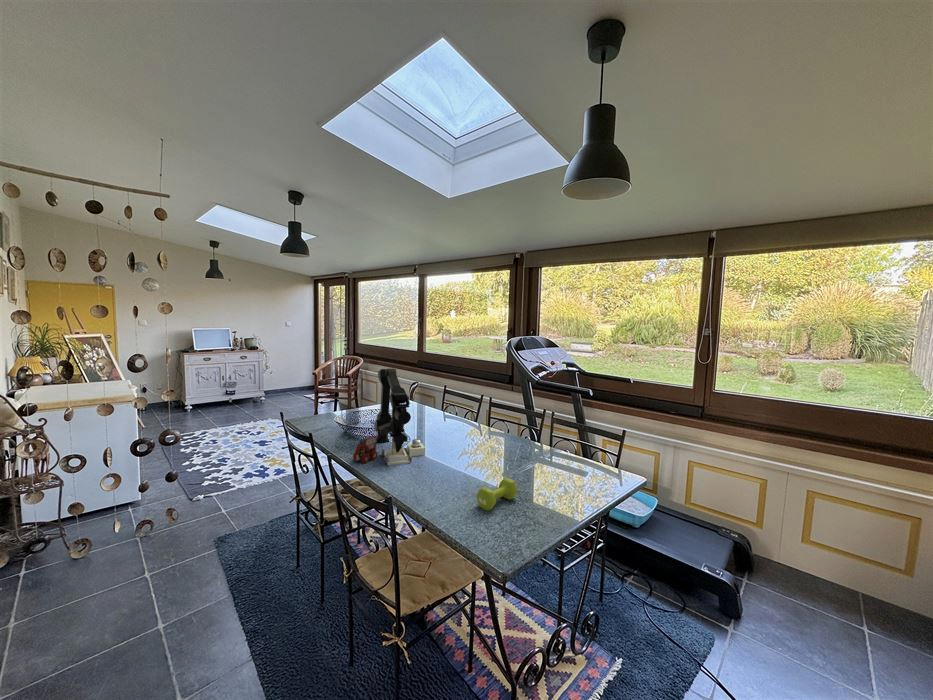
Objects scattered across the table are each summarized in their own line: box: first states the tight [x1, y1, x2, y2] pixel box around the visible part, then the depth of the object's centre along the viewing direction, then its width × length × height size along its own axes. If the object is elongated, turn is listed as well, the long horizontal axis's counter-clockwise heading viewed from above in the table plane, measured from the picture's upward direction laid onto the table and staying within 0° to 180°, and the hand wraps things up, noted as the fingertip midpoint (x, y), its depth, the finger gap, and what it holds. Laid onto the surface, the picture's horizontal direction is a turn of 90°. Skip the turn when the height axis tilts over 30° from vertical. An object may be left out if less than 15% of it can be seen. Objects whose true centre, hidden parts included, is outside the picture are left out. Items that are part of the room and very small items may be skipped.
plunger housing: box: [406, 442, 426, 457], centre depth 176 cm, size 7×7×4 cm
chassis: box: [381, 447, 413, 466], centre depth 168 cm, size 14×12×3 cm
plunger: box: [411, 438, 421, 448], centre depth 176 cm, size 4×4×4 cm
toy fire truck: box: [352, 435, 379, 464], centre depth 164 cm, size 7×12×10 cm, turn 147°
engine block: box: [391, 439, 403, 455], centre depth 167 cm, size 4×4×7 cm
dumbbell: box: [476, 477, 519, 512], centre depth 131 cm, size 16×8×7 cm, turn 134°
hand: (396, 450), depth 167 cm, fingers closed on engine block, 4 cm apart
